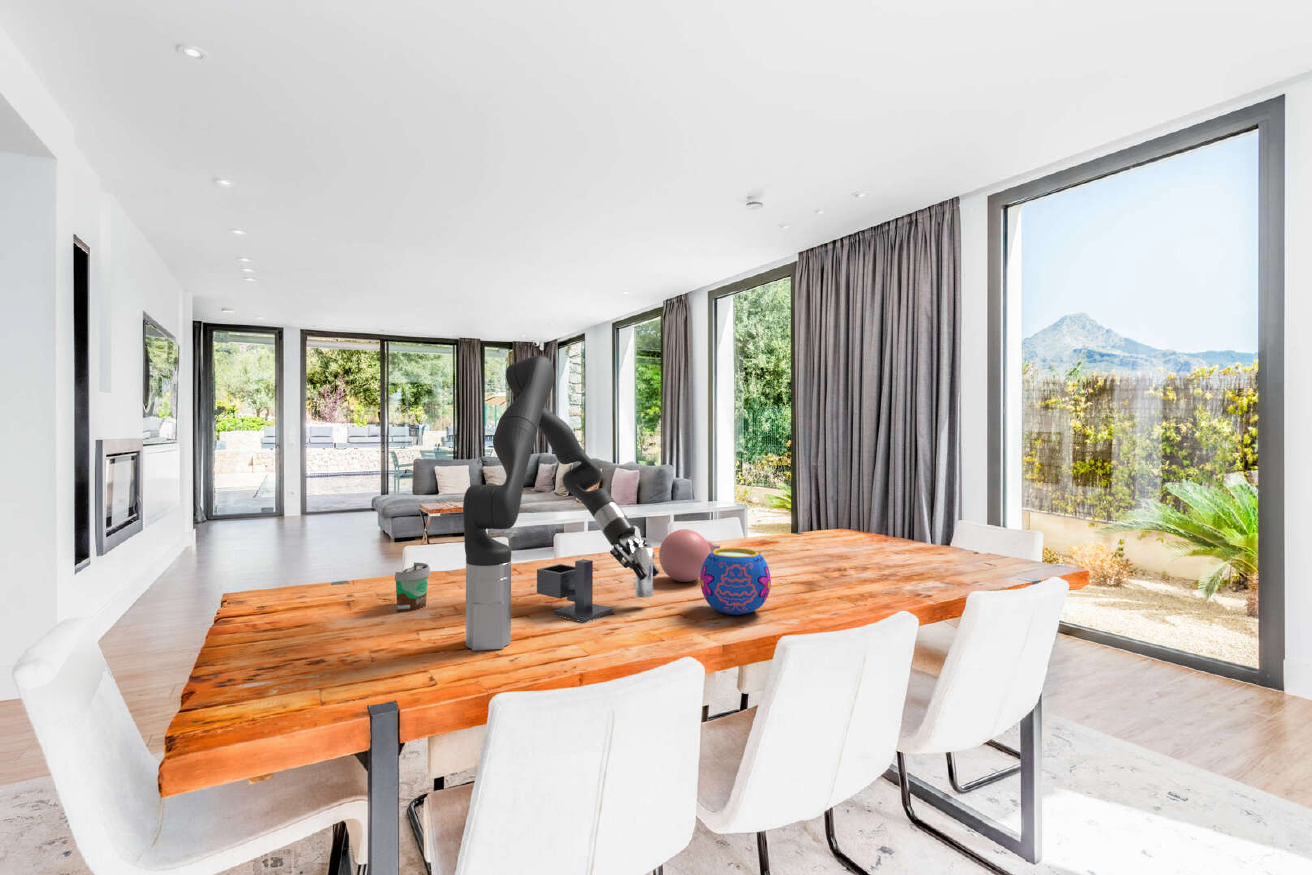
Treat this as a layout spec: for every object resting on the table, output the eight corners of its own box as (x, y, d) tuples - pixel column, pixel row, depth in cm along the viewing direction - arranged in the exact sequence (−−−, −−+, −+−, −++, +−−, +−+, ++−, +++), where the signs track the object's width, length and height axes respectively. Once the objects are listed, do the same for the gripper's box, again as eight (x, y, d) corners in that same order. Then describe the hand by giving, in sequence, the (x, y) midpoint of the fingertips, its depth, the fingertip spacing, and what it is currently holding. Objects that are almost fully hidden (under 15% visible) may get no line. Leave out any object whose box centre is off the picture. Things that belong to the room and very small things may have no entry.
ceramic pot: (767, 603, 167) (768, 546, 167) (773, 624, 150) (774, 560, 149) (700, 601, 169) (701, 544, 169) (698, 621, 151) (699, 557, 151)
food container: (419, 614, 155) (419, 572, 155) (394, 613, 155) (394, 572, 155) (438, 600, 168) (438, 562, 168) (414, 600, 168) (414, 562, 168)
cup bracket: (612, 613, 157) (613, 560, 157) (584, 622, 149) (585, 567, 149) (562, 601, 168) (562, 551, 167) (534, 610, 159) (534, 557, 159)
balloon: (733, 583, 189) (734, 531, 189) (672, 589, 181) (672, 535, 181) (708, 572, 203) (709, 523, 203) (650, 577, 195) (651, 527, 195)
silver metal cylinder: (654, 596, 161) (655, 549, 161) (637, 597, 160) (637, 549, 160) (650, 592, 165) (651, 546, 165) (633, 593, 164) (634, 546, 164)
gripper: (604, 517, 161) (641, 571, 154) (639, 512, 173) (675, 562, 166) (588, 536, 165) (624, 590, 157) (623, 530, 176) (658, 580, 169)
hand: (650, 576), depth 162 cm, fingers closed on silver metal cylinder, 4 cm apart
